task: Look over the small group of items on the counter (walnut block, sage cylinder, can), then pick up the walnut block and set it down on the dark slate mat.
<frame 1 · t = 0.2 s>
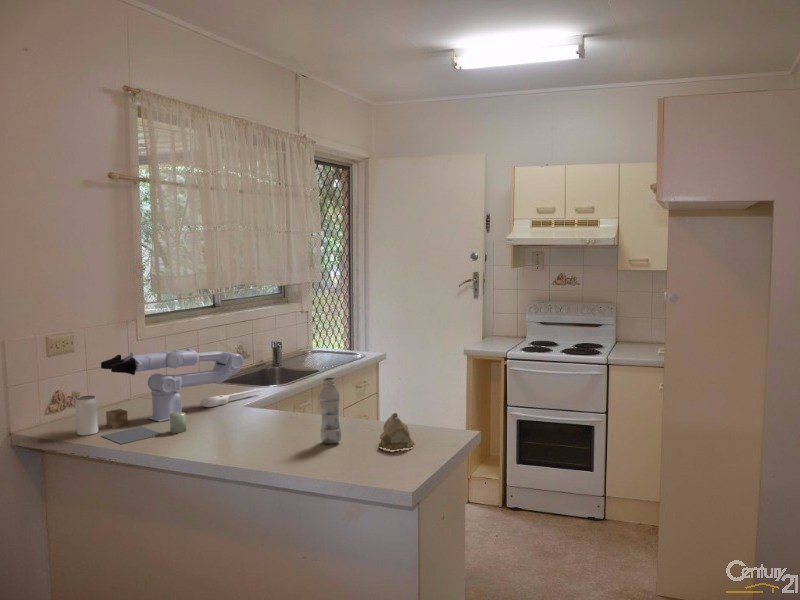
hand: (106, 367, 228), 21 cm above the countertop, tool horizontal, fingers open, 7 cm apart
can: (87, 433, 226), on the countertop
walnut block: (117, 425, 236), on the countertop
ceramic model: (395, 446, 208), on the countertop
plastic bottle: (331, 443, 211), on the countertop
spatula: (232, 402, 269), on the countertop
sage cylinder: (178, 431, 227), on the countertop
slate mat: (131, 435, 223), on the countertop
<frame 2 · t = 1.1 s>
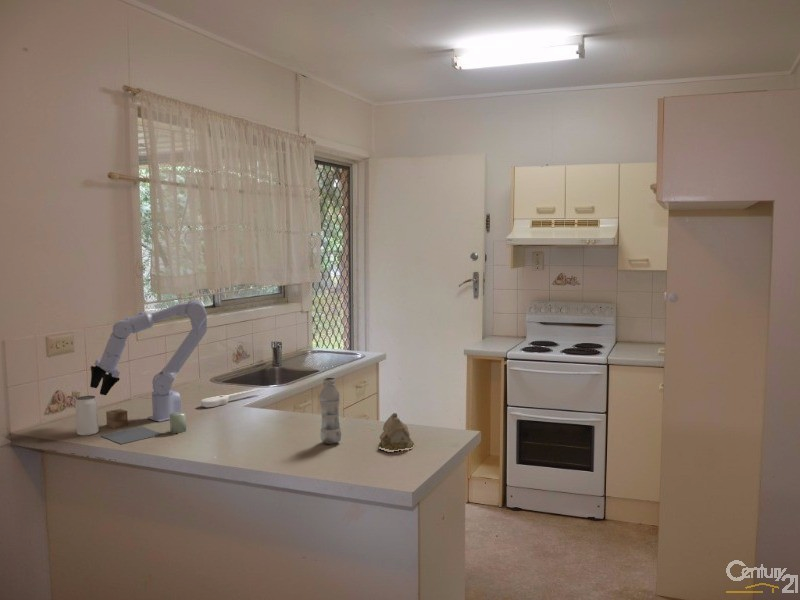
hand: (98, 391, 236), 12 cm above the countertop, tool tilted 20°, fingers open, 7 cm apart
nothing on the countertop moved.
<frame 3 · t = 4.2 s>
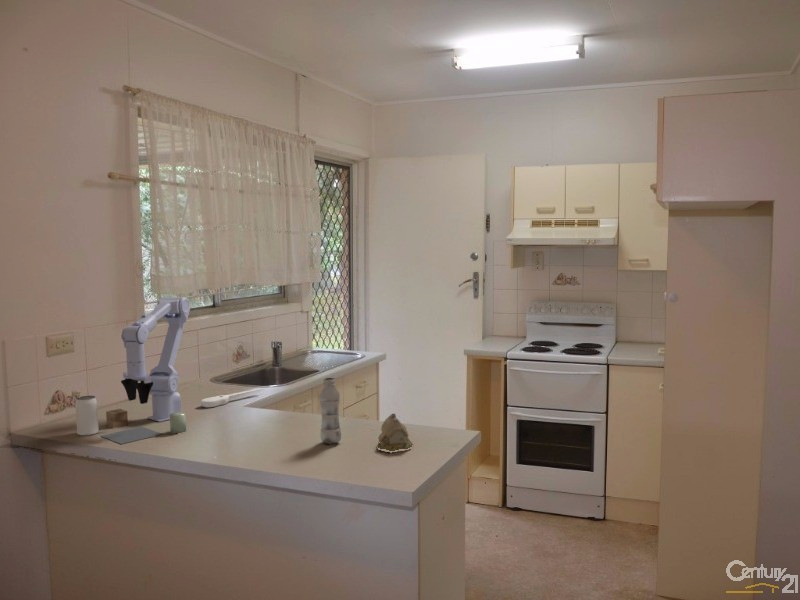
hand: (138, 401, 230), 9 cm above the countertop, tool pointing down, fingers open, 7 cm apart
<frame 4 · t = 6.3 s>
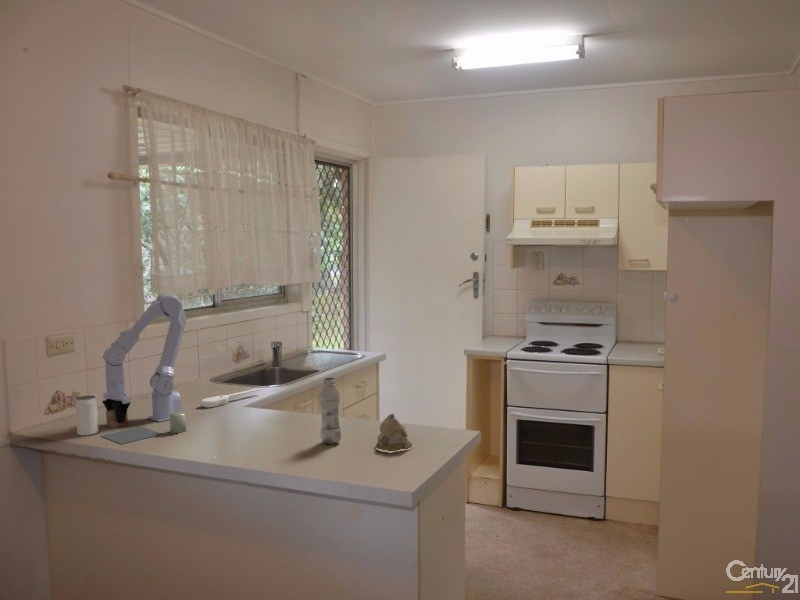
hand: (117, 421, 236), 1 cm above the countertop, tool pointing down, fingers closed on walnut block, 5 cm apart
walnut block: (117, 425, 236), on the countertop, touching gripper
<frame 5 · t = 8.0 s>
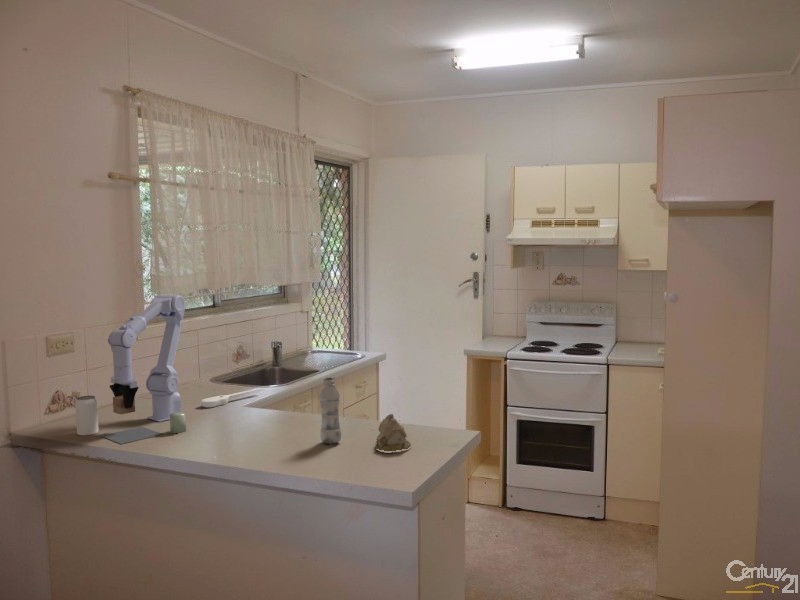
hand: (124, 406, 227), 8 cm above the countertop, tool pointing down, fingers closed on walnut block, 5 cm apart
walnut block: (124, 411, 227), point 7 cm above the countertop, touching gripper
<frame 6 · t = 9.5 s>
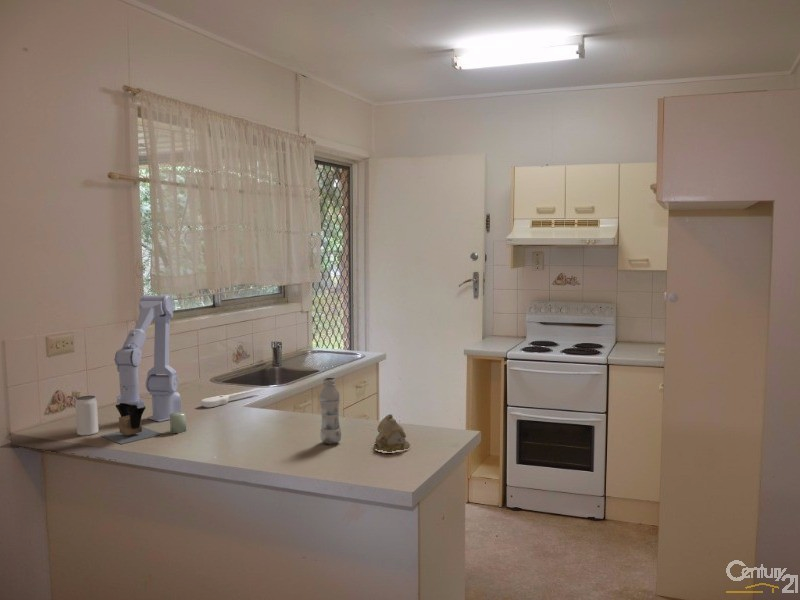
hand: (131, 426, 223), 3 cm above the countertop, tool pointing down, fingers closed on walnut block, 5 cm apart
walnut block: (130, 432, 223), point 1 cm above the countertop, touching gripper
when the fingers open (3 cm above the countertop, at t = 10.0 s): walnut block stays where it is, resting on slate mat.
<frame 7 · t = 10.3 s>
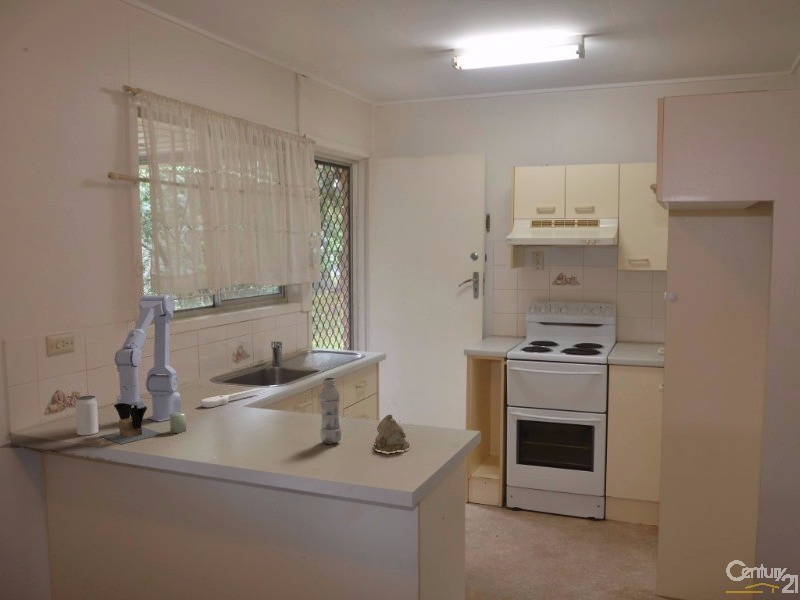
hand: (131, 426, 223), 3 cm above the countertop, tool pointing down, fingers open, 7 cm apart
walnut block: (131, 435, 223), resting on slate mat
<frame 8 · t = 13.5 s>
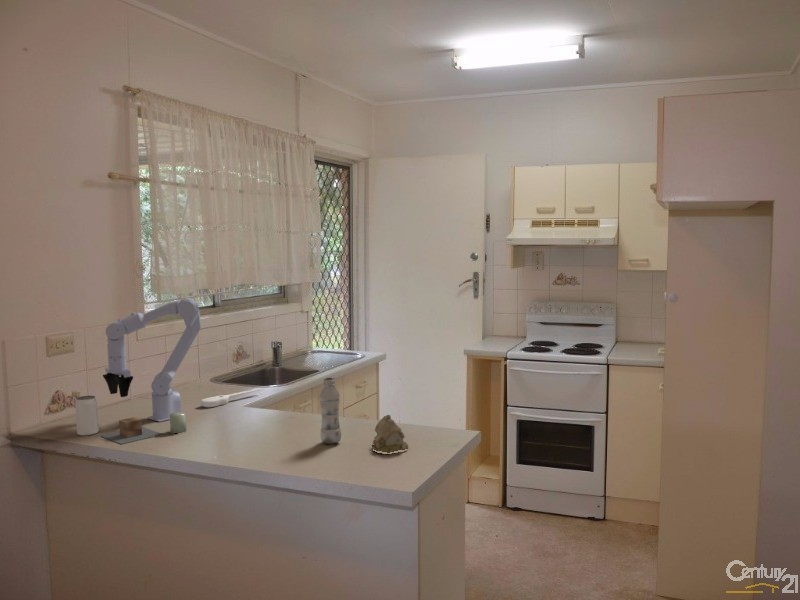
hand: (118, 395, 240), 9 cm above the countertop, tool pointing down, fingers open, 7 cm apart
at the end: walnut block inside the target area (0.3 cm from its centre), resting on slate mat; walnut block tilted 0°; can moved 0.2 cm from its start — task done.
